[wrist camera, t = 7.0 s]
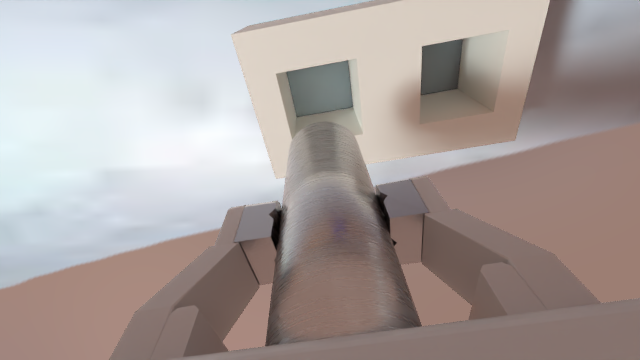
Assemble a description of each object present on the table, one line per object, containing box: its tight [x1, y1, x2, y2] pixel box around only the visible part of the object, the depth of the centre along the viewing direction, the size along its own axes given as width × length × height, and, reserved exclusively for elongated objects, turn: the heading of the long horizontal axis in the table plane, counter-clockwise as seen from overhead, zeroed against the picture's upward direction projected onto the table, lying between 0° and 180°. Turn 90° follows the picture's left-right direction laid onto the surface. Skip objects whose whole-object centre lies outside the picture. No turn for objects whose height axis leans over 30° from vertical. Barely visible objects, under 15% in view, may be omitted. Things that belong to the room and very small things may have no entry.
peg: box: [265, 122, 422, 346], centre depth 8 cm, size 3×3×10 cm
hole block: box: [231, 0, 550, 179], centre depth 18 cm, size 16×9×5 cm, turn 100°
